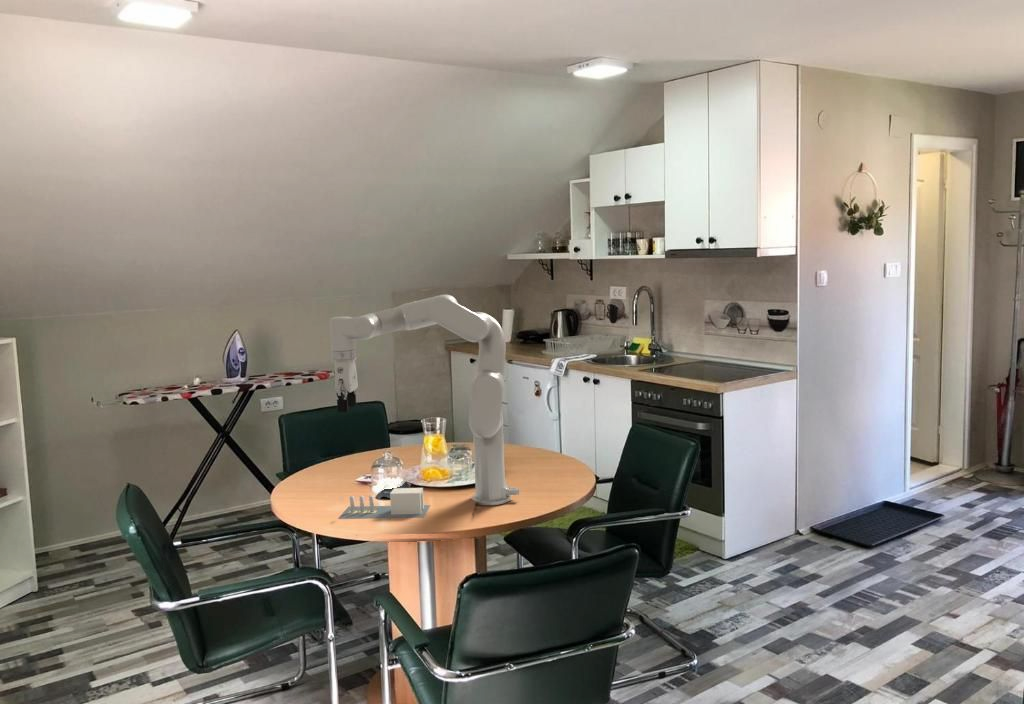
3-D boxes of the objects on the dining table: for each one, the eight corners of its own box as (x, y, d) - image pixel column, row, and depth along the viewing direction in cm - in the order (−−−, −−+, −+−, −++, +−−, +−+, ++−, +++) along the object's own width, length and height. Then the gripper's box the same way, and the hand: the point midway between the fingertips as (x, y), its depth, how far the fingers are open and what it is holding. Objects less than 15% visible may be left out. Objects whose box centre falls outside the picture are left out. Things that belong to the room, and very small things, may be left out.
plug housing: (424, 508, 258) (422, 487, 257) (420, 514, 252) (419, 493, 251) (395, 508, 258) (393, 488, 258) (391, 514, 253) (389, 493, 252)
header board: (430, 508, 261) (429, 489, 260) (423, 521, 249) (422, 501, 248) (348, 510, 263) (347, 491, 262) (338, 522, 251) (336, 502, 250)
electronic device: (382, 495, 284) (372, 503, 269) (384, 479, 284) (374, 485, 269) (410, 499, 283) (401, 506, 268) (411, 482, 283) (403, 488, 268)
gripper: (348, 359, 256) (351, 414, 258) (362, 352, 273) (365, 403, 275) (324, 359, 257) (327, 414, 259) (339, 352, 274) (343, 404, 276)
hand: (347, 409), depth 267 cm, fingers open, 9 cm apart
